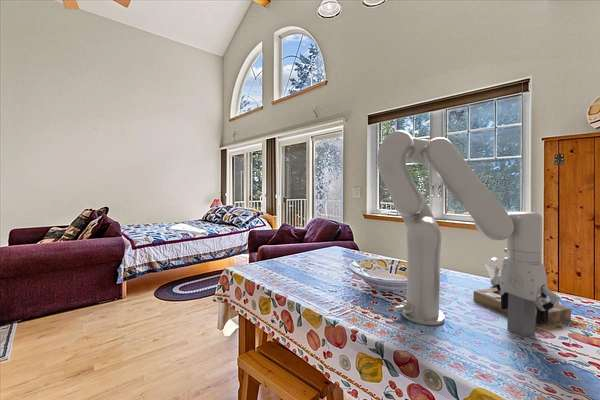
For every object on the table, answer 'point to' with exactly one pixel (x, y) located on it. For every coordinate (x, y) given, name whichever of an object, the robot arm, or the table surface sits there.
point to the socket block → (493, 301)
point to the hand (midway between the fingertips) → (522, 315)
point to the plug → (521, 316)
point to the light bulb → (494, 268)
